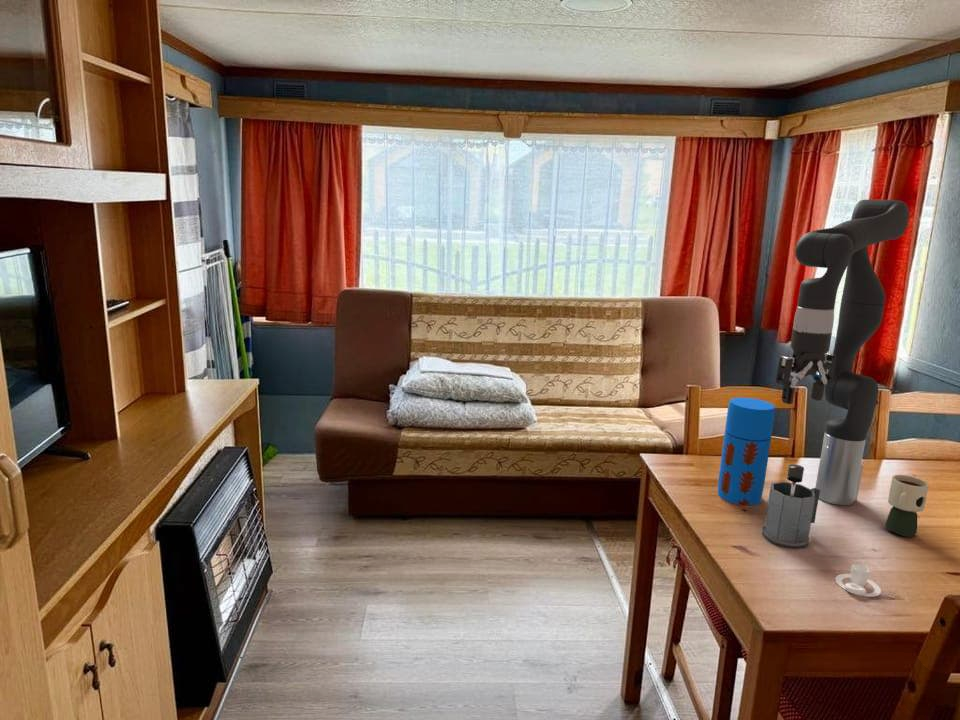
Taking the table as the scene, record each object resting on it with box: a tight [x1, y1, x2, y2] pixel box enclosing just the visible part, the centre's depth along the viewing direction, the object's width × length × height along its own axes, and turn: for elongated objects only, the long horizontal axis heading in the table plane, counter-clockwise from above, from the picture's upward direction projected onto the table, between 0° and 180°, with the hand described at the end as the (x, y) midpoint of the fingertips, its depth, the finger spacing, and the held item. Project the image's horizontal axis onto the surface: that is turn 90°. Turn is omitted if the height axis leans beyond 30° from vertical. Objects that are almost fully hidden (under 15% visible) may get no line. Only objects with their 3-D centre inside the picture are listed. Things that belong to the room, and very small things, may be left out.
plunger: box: [786, 463, 805, 497], centre depth 146 cm, size 7×7×14 cm
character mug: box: [884, 474, 930, 538], centre depth 152 cm, size 11×7×13 cm, turn 136°
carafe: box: [761, 481, 820, 550], centre depth 148 cm, size 12×10×12 cm
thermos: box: [717, 397, 776, 507], centre depth 167 cm, size 11×11×25 cm
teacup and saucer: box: [835, 563, 882, 598], centre depth 130 cm, size 9×8×4 cm
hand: (801, 401), depth 144 cm, fingers open, 8 cm apart
